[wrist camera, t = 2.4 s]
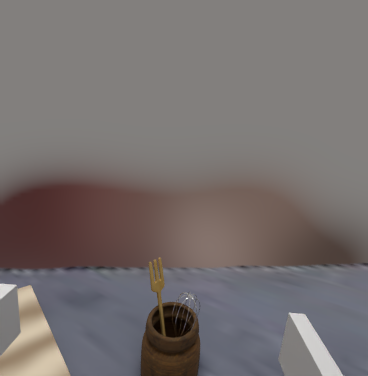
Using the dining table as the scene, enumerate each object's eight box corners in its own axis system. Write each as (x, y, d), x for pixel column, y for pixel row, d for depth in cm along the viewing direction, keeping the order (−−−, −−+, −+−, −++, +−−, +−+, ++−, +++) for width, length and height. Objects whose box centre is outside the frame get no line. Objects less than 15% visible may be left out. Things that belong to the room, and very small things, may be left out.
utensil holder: (166, 423, 21) (174, 306, 18) (127, 370, 25) (129, 269, 22) (208, 378, 25) (221, 277, 22) (169, 339, 29) (175, 250, 26)
